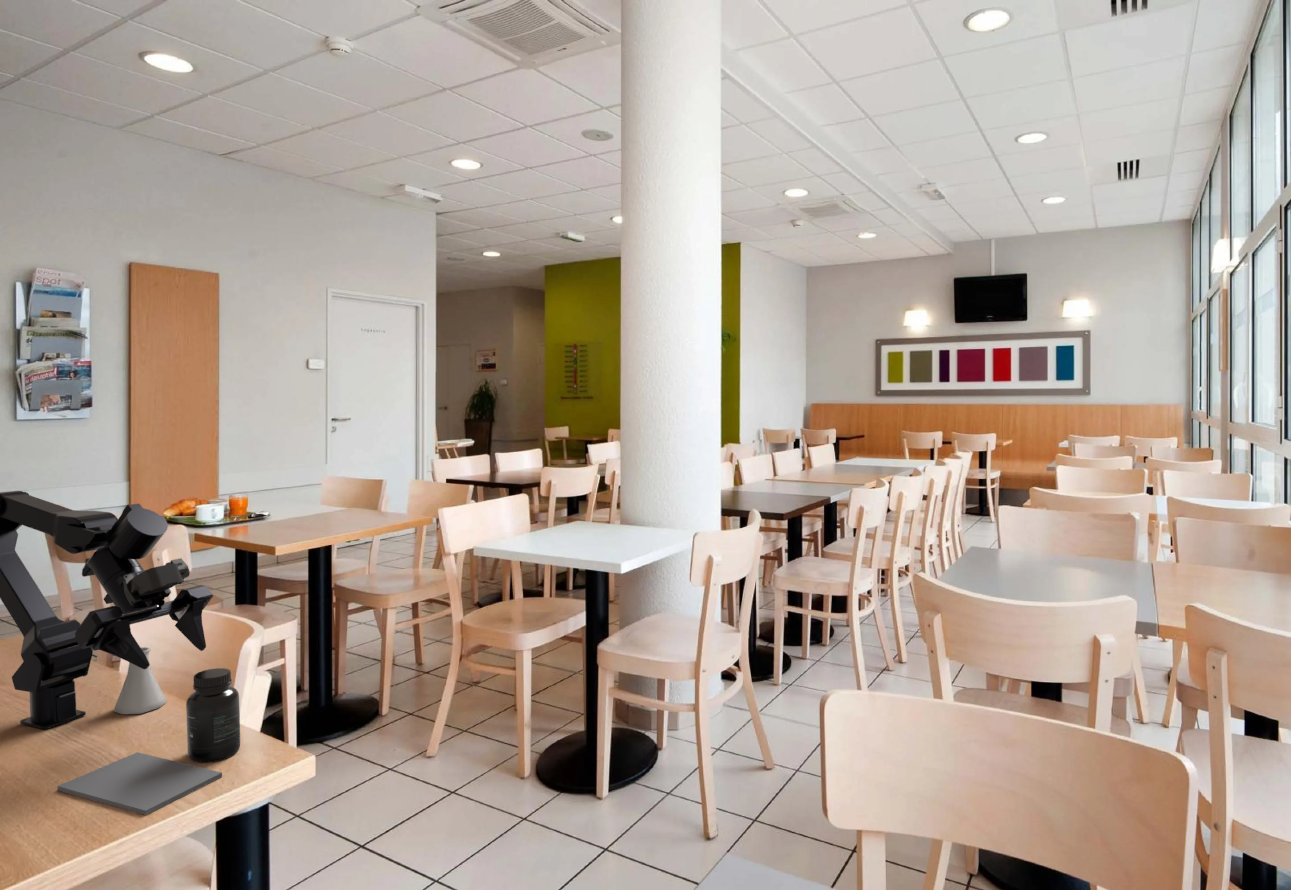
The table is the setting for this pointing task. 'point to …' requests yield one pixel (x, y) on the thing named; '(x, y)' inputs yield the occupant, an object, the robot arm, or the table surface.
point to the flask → (139, 690)
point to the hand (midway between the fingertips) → (176, 657)
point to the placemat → (140, 782)
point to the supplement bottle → (213, 717)
